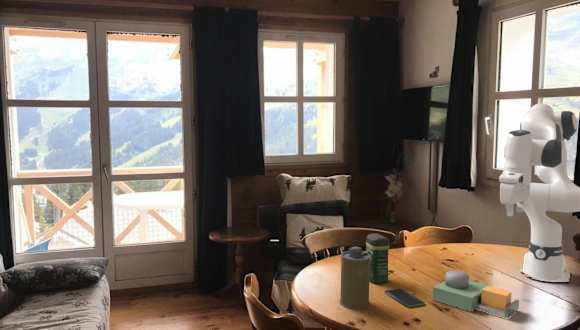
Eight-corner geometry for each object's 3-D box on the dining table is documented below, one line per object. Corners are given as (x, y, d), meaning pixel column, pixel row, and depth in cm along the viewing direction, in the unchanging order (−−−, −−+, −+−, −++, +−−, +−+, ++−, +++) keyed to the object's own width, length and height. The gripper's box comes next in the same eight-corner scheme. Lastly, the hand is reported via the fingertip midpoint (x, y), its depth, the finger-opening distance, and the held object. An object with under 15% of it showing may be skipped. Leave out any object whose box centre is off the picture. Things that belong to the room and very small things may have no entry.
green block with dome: (453, 289, 176) (454, 266, 175) (490, 299, 166) (491, 275, 165) (432, 300, 164) (433, 276, 164) (471, 312, 155) (472, 286, 154)
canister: (354, 311, 154) (355, 253, 152) (333, 301, 163) (334, 246, 161) (376, 304, 161) (378, 248, 159) (355, 294, 169) (357, 241, 167)
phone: (407, 306, 157) (383, 290, 171) (407, 309, 158) (383, 293, 171) (426, 303, 160) (400, 288, 174) (426, 306, 160) (400, 290, 174)
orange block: (486, 302, 161) (487, 285, 161) (510, 309, 156) (511, 292, 155) (480, 306, 158) (481, 289, 157) (505, 313, 152) (506, 296, 152)
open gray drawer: (486, 301, 164) (487, 291, 163) (518, 310, 156) (519, 300, 156) (474, 309, 157) (475, 299, 156) (507, 319, 149) (508, 308, 149)
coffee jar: (391, 283, 181) (392, 237, 179) (373, 285, 179) (374, 238, 177) (379, 275, 191) (381, 231, 189) (362, 276, 188) (363, 232, 186)
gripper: (518, 172, 174) (516, 208, 175) (497, 177, 159) (495, 216, 161) (536, 174, 169) (533, 211, 171) (516, 179, 155) (514, 219, 156)
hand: (514, 213), depth 165 cm, fingers open, 8 cm apart
